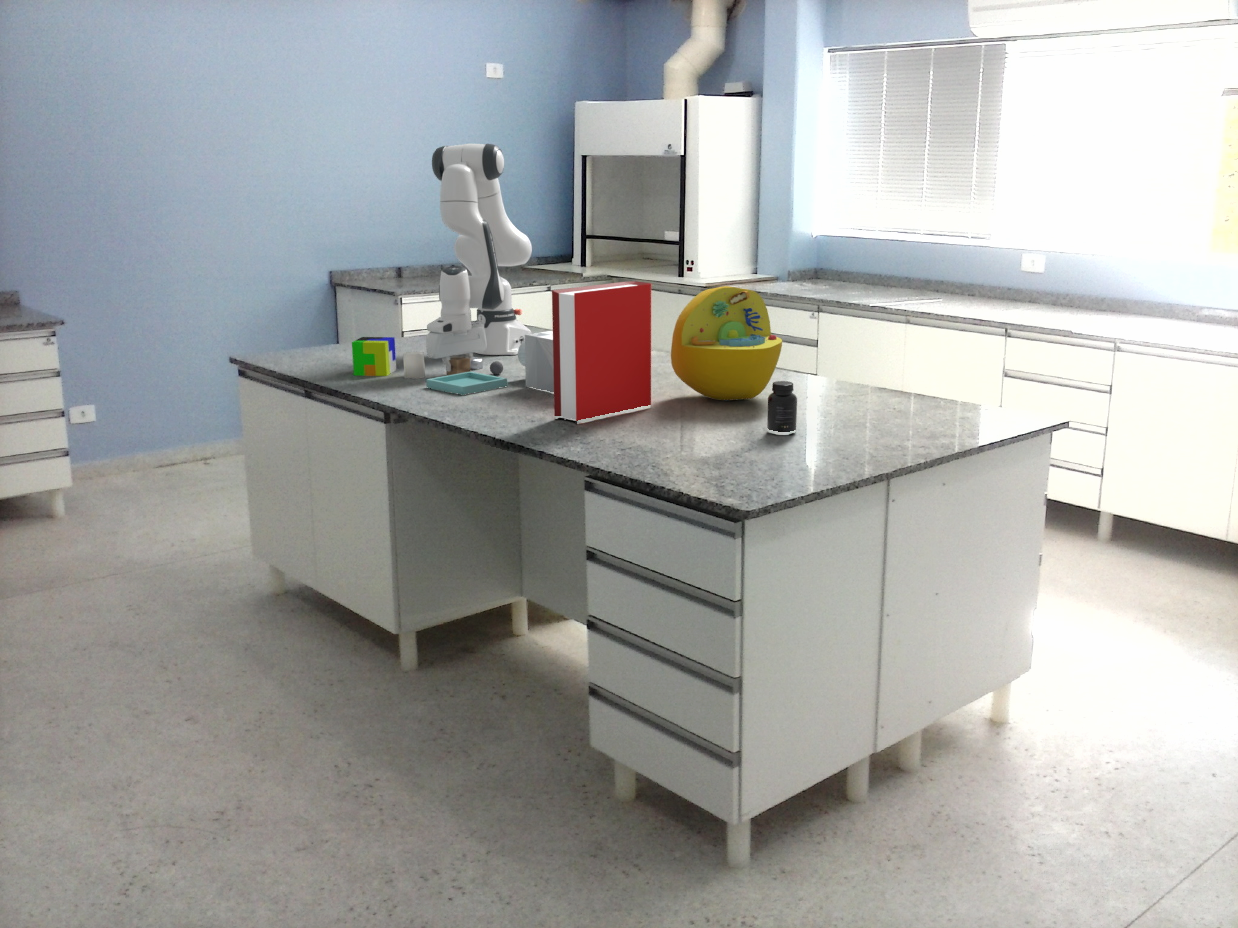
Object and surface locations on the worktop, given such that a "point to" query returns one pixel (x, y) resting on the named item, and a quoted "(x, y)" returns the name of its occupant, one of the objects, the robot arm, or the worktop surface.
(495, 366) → the rubber ball
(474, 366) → the grey metal dome
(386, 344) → the puzzle toy
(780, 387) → the supplement bottle
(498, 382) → the tray
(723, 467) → the worktop surface
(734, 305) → the educational model
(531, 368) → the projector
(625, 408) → the book
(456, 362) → the walnut block
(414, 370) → the ceramic jar
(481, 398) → the worktop surface
